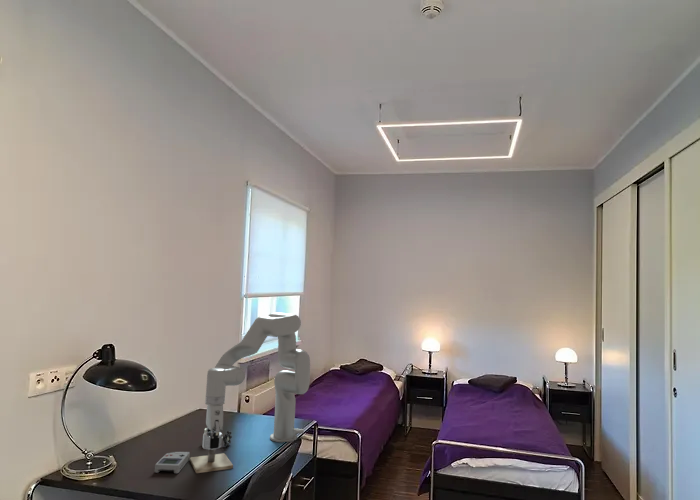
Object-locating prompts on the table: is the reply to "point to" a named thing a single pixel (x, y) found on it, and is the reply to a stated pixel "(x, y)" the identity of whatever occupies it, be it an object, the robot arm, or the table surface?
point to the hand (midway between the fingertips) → (212, 444)
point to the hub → (207, 439)
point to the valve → (224, 437)
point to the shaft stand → (210, 462)
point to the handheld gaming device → (172, 462)
